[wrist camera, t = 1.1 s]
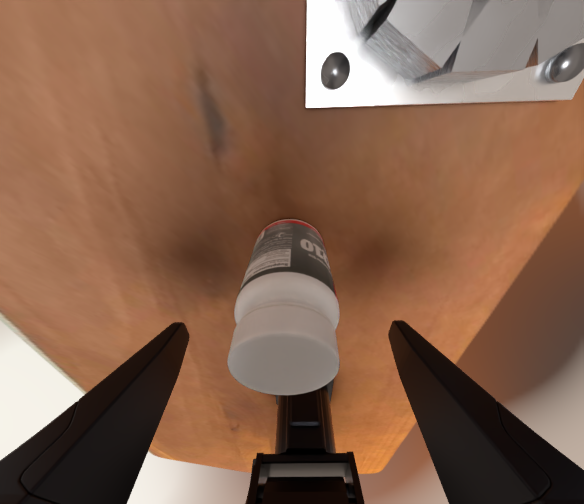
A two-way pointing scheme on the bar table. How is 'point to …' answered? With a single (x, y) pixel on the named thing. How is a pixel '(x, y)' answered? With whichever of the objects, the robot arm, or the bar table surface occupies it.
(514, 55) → the socket
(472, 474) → the robot arm
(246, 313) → the pill bottle
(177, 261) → the bar table surface
